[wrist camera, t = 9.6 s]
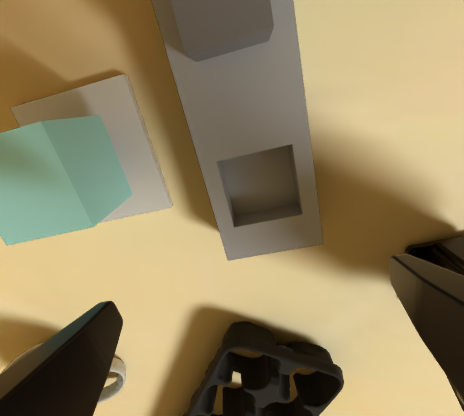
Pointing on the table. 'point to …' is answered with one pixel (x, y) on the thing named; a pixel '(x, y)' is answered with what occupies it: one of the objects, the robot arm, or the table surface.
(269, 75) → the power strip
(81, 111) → the mat
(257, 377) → the egg carton
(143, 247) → the table surface
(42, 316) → the table surface
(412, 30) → the table surface
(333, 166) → the table surface
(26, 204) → the green block
